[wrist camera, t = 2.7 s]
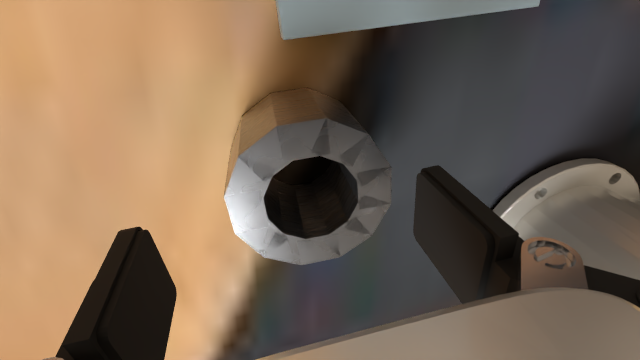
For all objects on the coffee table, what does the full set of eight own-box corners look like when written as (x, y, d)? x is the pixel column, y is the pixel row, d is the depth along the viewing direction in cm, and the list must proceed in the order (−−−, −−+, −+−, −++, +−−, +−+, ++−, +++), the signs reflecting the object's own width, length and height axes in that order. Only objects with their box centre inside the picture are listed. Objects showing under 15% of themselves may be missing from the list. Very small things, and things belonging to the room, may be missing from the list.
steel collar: (356, 80, 17) (391, 107, 13) (361, 194, 20) (390, 246, 16) (218, 100, 16) (206, 137, 12) (248, 215, 20) (247, 276, 15)
